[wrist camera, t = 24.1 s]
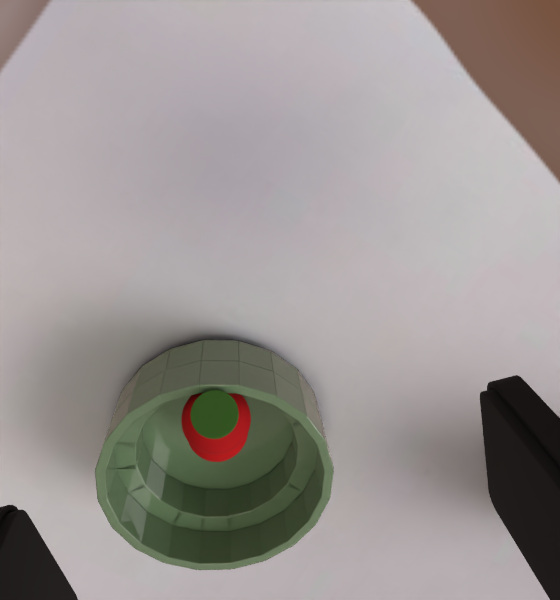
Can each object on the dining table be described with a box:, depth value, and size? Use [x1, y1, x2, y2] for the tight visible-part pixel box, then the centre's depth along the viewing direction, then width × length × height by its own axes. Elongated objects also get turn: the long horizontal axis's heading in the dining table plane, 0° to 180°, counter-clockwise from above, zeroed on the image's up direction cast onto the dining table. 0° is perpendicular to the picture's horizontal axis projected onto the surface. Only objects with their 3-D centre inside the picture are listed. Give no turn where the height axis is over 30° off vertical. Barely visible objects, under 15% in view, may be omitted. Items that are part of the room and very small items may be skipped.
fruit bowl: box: [95, 340, 334, 570], centre depth 35 cm, size 14×14×6 cm
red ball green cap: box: [189, 434, 248, 462], centre depth 35 cm, size 4×4×4 cm
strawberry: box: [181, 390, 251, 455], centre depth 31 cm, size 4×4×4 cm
